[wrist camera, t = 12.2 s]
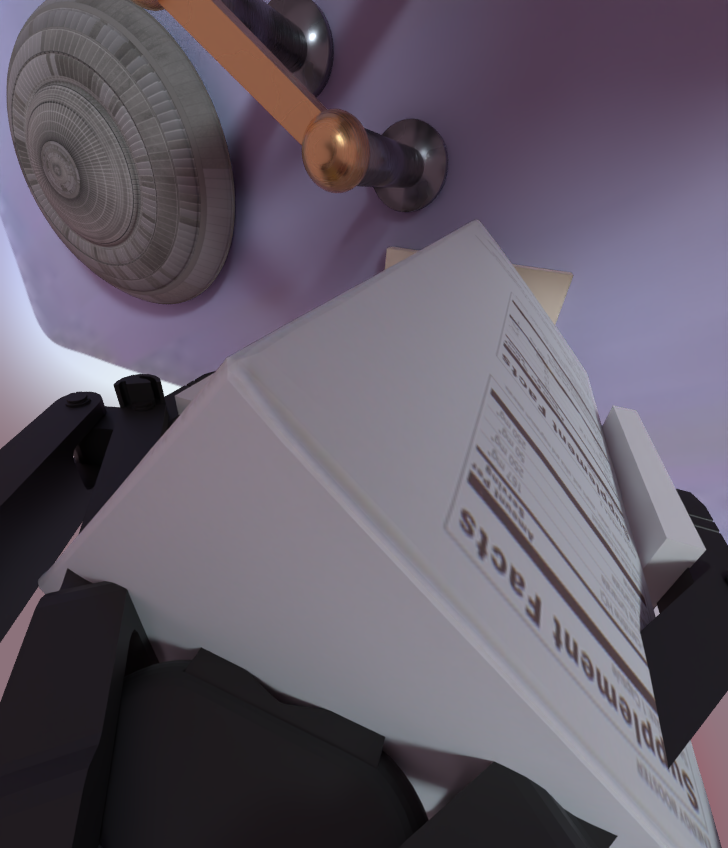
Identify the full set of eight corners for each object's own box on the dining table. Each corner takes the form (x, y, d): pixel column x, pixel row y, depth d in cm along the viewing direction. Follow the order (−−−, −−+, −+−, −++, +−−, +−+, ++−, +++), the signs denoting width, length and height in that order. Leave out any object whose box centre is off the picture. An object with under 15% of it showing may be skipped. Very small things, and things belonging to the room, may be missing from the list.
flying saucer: (51, 226, 28) (-38, 233, 24) (35, -67, 19) (-112, -145, 15) (219, 339, 28) (161, 367, 23) (283, 96, 19) (210, 67, 14)
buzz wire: (255, -152, 15) (-59, -551, 7) (508, -186, 12) (477, -853, 4) (270, 194, 21) (116, 196, 13) (439, 215, 19) (377, 232, 11)
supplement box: (478, 211, 16) (224, 307, 3) (595, 377, 18) (806, 961, 4) (335, 341, 22) (14, 589, 8) (434, 459, 23) (303, 828, 10)
